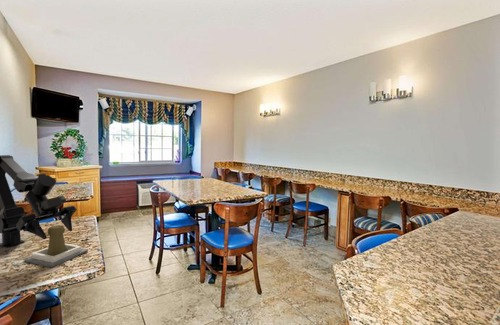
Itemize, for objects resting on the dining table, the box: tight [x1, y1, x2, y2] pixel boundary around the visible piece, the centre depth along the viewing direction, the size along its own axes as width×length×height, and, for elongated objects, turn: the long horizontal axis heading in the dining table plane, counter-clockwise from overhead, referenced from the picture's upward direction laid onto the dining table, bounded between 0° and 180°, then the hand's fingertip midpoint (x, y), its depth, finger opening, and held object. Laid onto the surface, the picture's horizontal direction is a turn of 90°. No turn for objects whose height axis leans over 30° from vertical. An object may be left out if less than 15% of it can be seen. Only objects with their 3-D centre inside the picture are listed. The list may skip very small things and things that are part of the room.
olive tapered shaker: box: [47, 224, 66, 256], centre depth 98 cm, size 6×6×11 cm
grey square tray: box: [23, 242, 88, 268], centre depth 99 cm, size 14×14×3 cm
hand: (59, 234), depth 98 cm, fingers open, 9 cm apart
